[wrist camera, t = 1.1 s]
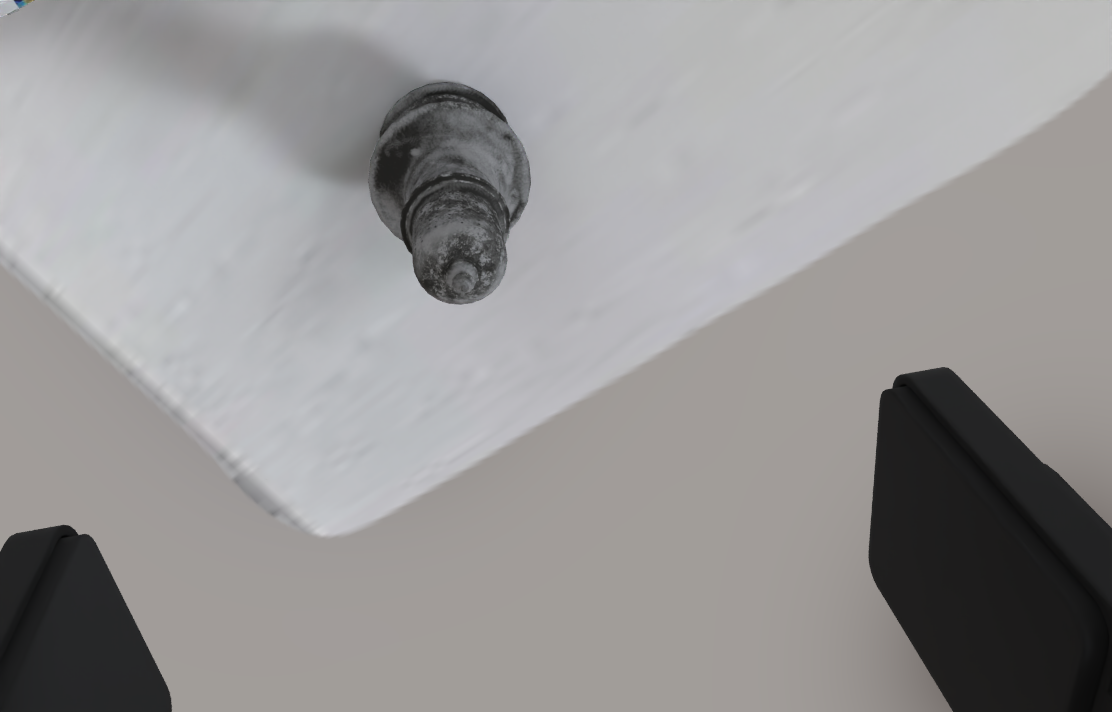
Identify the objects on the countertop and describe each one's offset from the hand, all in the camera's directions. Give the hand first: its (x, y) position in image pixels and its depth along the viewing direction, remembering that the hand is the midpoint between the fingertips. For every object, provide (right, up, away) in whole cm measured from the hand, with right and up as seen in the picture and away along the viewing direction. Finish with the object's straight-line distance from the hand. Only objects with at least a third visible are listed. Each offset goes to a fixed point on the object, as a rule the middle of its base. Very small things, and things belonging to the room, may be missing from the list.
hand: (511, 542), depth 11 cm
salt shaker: (-4, +10, +26) cm, 28 cm away
